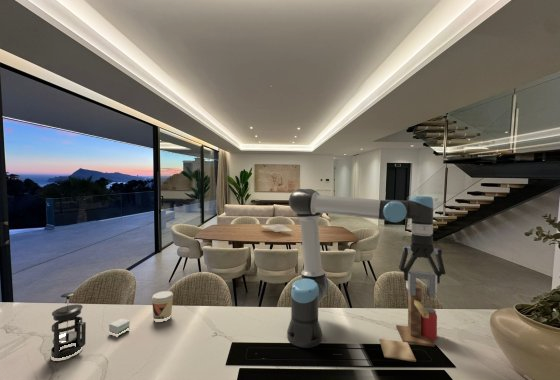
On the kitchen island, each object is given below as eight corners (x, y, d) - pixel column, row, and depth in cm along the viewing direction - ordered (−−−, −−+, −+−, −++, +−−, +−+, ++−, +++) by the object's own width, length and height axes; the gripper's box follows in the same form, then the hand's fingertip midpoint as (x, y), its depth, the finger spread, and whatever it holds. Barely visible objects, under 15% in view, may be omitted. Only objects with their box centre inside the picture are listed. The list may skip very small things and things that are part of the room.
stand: (408, 355, 95) (409, 298, 95) (396, 327, 114) (396, 280, 114) (443, 360, 92) (443, 301, 92) (424, 330, 111) (424, 282, 112)
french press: (41, 362, 89) (42, 299, 89) (64, 345, 98) (64, 288, 98) (73, 362, 89) (74, 299, 89) (93, 346, 98) (93, 289, 98)
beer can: (439, 342, 103) (439, 314, 103) (422, 339, 105) (422, 312, 104) (433, 333, 109) (433, 306, 109) (417, 331, 111) (417, 304, 111)
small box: (117, 338, 104) (117, 326, 104) (108, 335, 106) (108, 324, 106) (130, 331, 109) (130, 320, 109) (121, 328, 111) (121, 317, 111)
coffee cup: (147, 323, 116) (147, 297, 116) (160, 313, 125) (160, 290, 125) (165, 325, 114) (165, 299, 114) (176, 315, 123) (176, 291, 123)
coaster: (384, 357, 93) (384, 355, 93) (379, 340, 104) (379, 338, 104) (416, 361, 91) (416, 360, 91) (407, 343, 102) (407, 342, 102)
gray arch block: (410, 295, 98) (410, 272, 98) (407, 292, 101) (408, 270, 101) (435, 297, 96) (435, 274, 96) (432, 294, 99) (432, 272, 99)
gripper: (395, 234, 97) (394, 290, 97) (457, 237, 92) (456, 296, 92) (391, 231, 104) (390, 283, 104) (448, 234, 100) (447, 288, 100)
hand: (421, 289), depth 98 cm, fingers closed on gray arch block, 9 cm apart
